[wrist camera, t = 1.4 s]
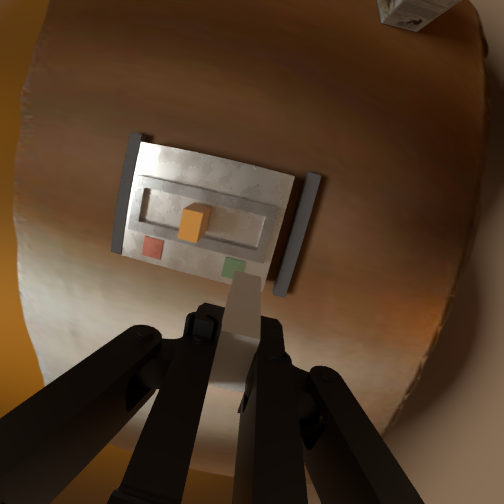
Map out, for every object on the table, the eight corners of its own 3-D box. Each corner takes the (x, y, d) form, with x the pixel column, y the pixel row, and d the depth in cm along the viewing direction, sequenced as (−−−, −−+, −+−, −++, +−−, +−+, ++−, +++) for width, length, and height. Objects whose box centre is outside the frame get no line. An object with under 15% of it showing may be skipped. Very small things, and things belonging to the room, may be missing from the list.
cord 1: (135, 133, 35) (130, 132, 33) (146, 135, 35) (141, 134, 33) (115, 248, 39) (110, 251, 38) (125, 251, 39) (120, 254, 38)
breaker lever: (194, 202, 33) (183, 208, 28) (211, 206, 33) (203, 213, 28) (189, 228, 34) (177, 238, 29) (205, 232, 34) (196, 243, 29)
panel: (152, 143, 35) (137, 141, 30) (291, 175, 36) (295, 176, 31) (134, 246, 39) (118, 257, 34) (262, 280, 40) (262, 295, 35)
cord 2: (306, 171, 36) (308, 171, 34) (319, 175, 36) (321, 175, 34) (272, 290, 40) (273, 294, 38) (284, 292, 40) (284, 297, 39)
